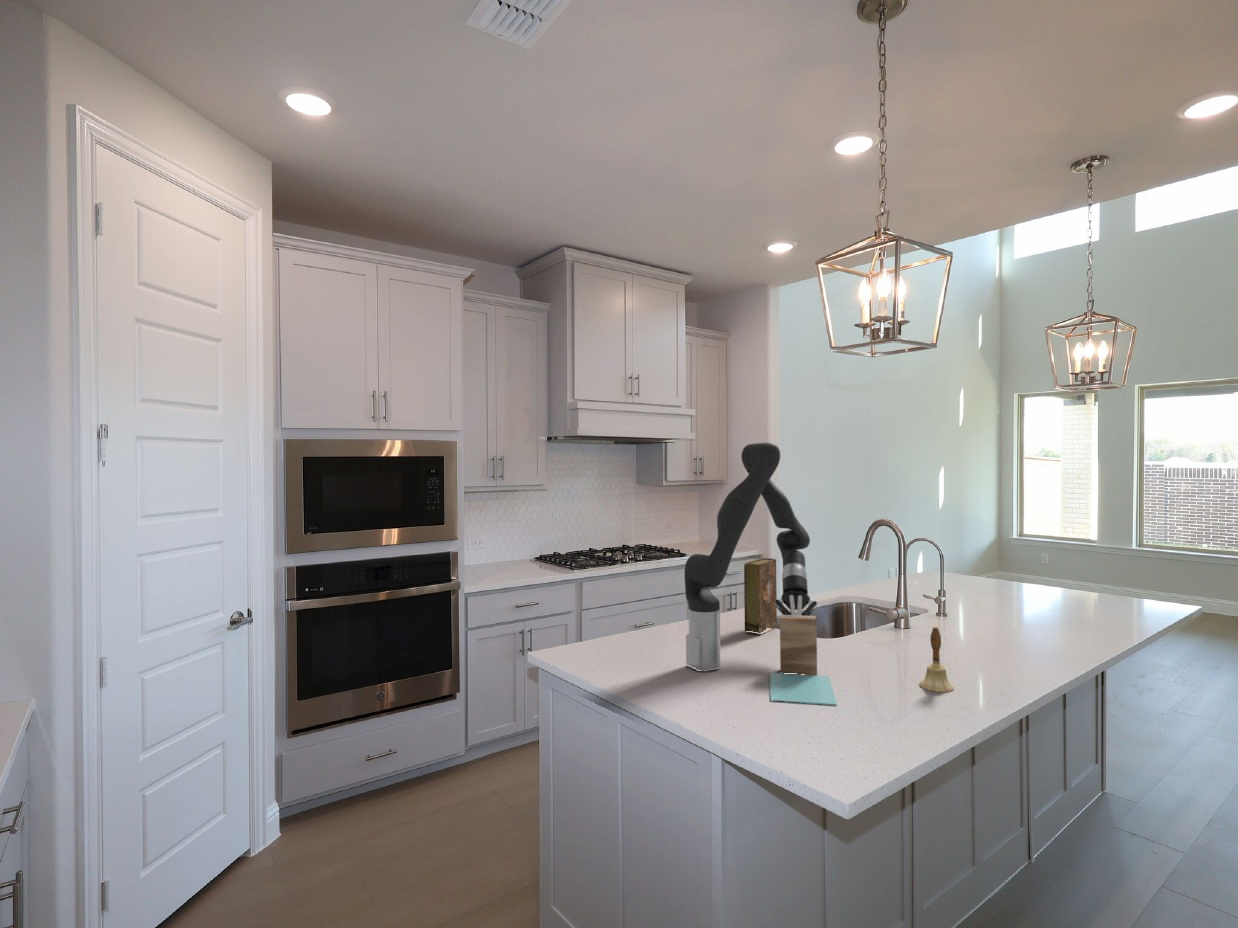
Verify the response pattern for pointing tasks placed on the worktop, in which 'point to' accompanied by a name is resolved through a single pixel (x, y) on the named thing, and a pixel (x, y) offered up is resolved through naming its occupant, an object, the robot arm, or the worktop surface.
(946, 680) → the hand bell
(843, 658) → the worktop surface
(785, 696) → the mat
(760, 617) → the book
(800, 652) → the block
